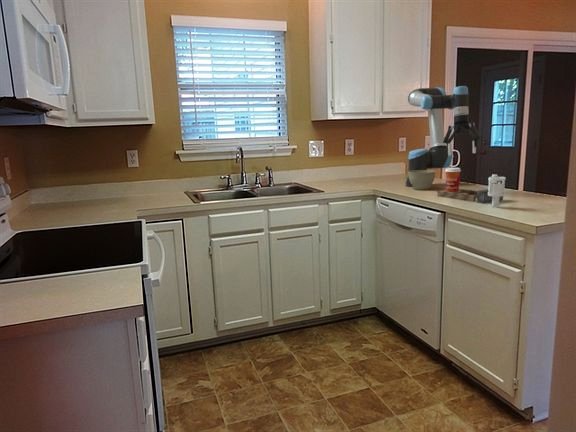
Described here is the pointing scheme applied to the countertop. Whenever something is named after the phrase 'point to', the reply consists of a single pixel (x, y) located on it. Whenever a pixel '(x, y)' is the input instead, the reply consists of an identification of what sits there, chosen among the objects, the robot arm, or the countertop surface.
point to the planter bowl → (421, 178)
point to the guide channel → (469, 195)
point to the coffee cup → (452, 179)
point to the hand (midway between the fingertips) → (461, 154)
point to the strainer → (496, 189)
